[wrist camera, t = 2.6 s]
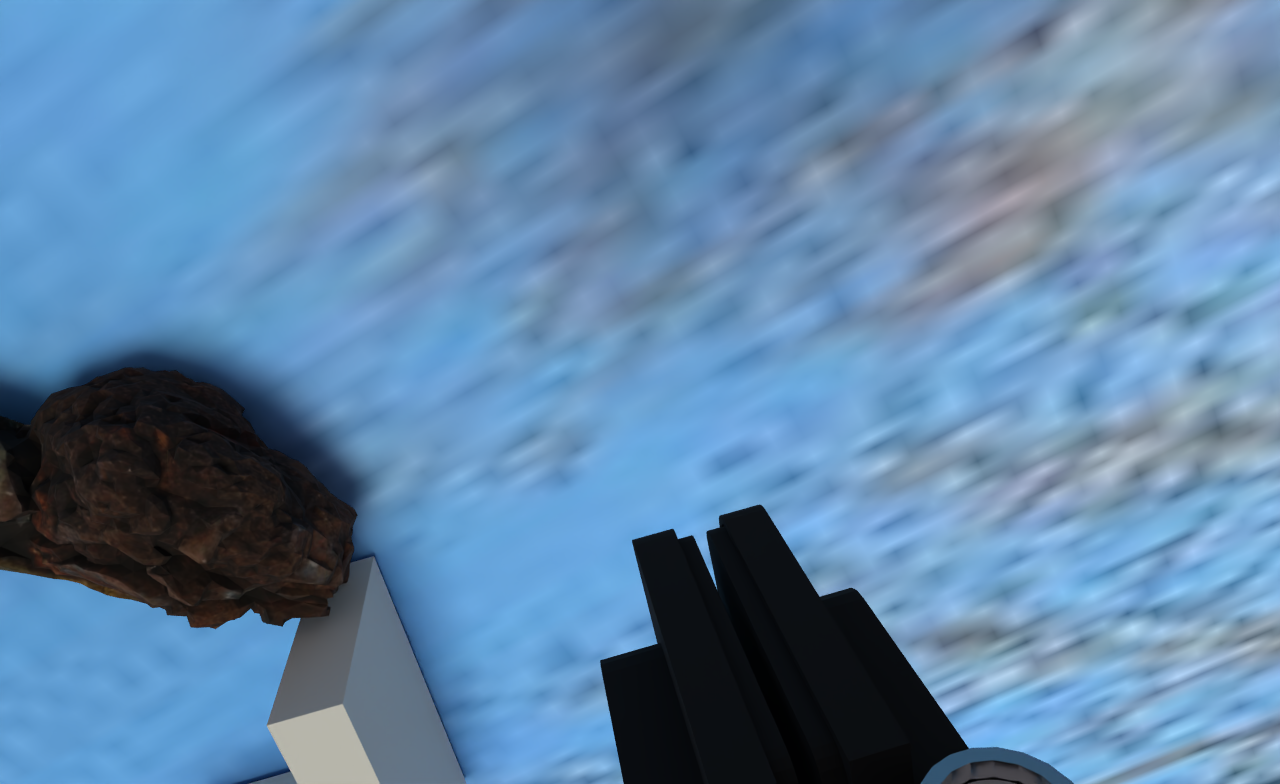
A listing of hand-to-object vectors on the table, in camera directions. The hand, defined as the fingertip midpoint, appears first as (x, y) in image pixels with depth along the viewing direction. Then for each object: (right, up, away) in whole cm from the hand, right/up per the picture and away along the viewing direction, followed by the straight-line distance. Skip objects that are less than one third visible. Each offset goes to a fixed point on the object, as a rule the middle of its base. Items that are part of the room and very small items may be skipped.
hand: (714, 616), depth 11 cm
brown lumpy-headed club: (-18, +2, +15) cm, 24 cm away
